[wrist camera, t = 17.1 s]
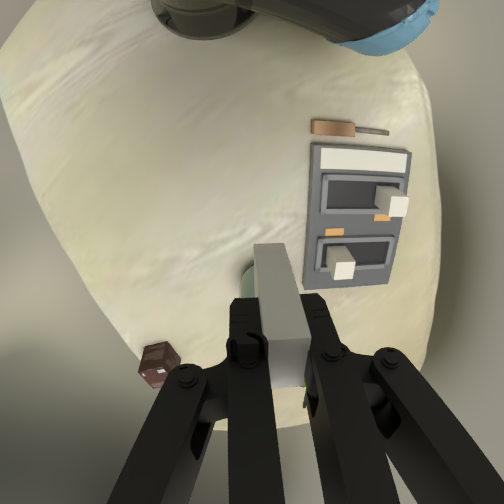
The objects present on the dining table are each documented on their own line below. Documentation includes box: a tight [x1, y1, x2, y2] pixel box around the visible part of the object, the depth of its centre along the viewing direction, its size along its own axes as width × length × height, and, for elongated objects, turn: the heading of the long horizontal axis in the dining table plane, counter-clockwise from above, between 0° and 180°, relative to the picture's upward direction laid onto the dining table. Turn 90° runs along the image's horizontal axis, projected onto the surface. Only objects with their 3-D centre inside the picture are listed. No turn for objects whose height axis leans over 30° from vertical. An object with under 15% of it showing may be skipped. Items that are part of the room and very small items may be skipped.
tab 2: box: [374, 185, 409, 217], centre depth 40 cm, size 3×3×5 cm
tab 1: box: [325, 245, 356, 280], centre depth 45 cm, size 3×3×5 cm
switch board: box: [302, 143, 412, 290], centre depth 45 cm, size 24×16×3 cm, turn 1°
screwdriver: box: [311, 120, 389, 137], centre depth 39 cm, size 12×2×2 cm, turn 91°
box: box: [138, 342, 181, 389], centre depth 56 cm, size 6×6×7 cm
